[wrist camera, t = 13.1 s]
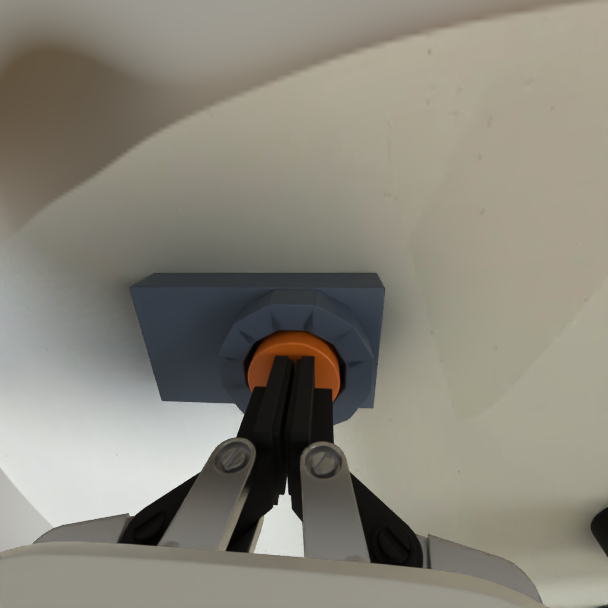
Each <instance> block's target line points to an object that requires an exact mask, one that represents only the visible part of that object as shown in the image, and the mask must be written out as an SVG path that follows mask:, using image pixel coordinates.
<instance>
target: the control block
mask: <svg viewBox="0 0 608 608" xmlns="http://www.w3.org/2000/svg"><path fill="white" fill-rule="evenodd" d="M129 289H130V292H131V295H132V299H133V302H134V306H135V309H136V313H137V316H138V320H139V323H140V327H141V330H142V334H143V337H144V341H145V344H146V348H147V351H148V355H149V358H150V362H151V365H152V368H153V372H154V375H155V379H156V382H157V386H158V389H159V393H160V396H161V400H162V401H178V402H206V403H235V404H236V405H237V406H238V408H239V409H240V410H241V411H242V412H243V413H244V414H245V411H246V409H247V406H248V403H249V400H250V397H251V394H252V392H251V390H250V387H249V383H248V370H249V366H250V364H251V361H252V359H253V356H254V354H255V352H256V349H257V347H258V345H259V342H260V341H261V339H262V338H264V337H266V336H268V335H270V334H272V333H274V332H276V331H278V330H301V331H308V332H310V333H312V334H314V335H316V336H318V337H320V338H322V339H324V340H326V341H328V342H330V343H332V344H333V345H334V347H335V348H336V350H337V353H338V358H339V373H340V388H339V391H338V394H337V396H336V398H335V399H334V401H333V425H336V424H338V423H341V422H343V421H346V420H348V419H350V418H351V416H352V415H353V414H354V413H355V412H356V411H357V409H358V408H373V406H374V396H375V386H376V375H377V365H378V355H379V345H380V335H381V325H382V315H383V304H384V294H385V288H384V286H383V284H382V282H381V280H380V278H379V276H378V275H377V274H376V273H154V274H152V275H151V276H149V277H147V278H145V279H143V280H141V281H140V282H138V283H136V284H134V285H132V286H130V287H129Z"/></svg>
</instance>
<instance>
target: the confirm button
mask: <svg viewBox="0 0 608 608" xmlns="http://www.w3.org/2000/svg"><path fill="white" fill-rule="evenodd" d="M276 355H277V356H288V357H289V359H293V363H294V373H295V367H296V361H297V359H301V358H302V356H315V388H329V389H332V397H333V401H334V399H335V398H336V396H337V394H338V391H339V388H340V373H339V358H338V353H337V350H336V348H335V347H334V345H333V344H332V343H330V342H328V341H326V340H324V339H322V338H320V337H318V336H316V335H314V334H312V333H310V332H308V331H301V330H278V331H276V332H274V333H272V334H270V335H268V336H266V337H264V338H262V339H261V341H260V342H259V345H258V347H257V349H256V352H255V354H254V356H253V359H252V361H251V364H250V366H249V370H248V383H249V387H250V390H251V392H253V389H254V387H255V386H266V385H267V381H268V378H269V375H270V371H271V368H272V365H273V361H274V358H275V356H276Z"/></svg>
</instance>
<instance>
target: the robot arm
mask: <svg viewBox="0 0 608 608" xmlns="http://www.w3.org/2000/svg"><path fill="white" fill-rule="evenodd" d="M287 478H288V493H289V495H291V502H292V510H293V511H294V512H295V513H296V515H297V516H298V517H299V519H300V520H301V521H302V526H303V542H304V558H303V557H291V556H279V555H266V554H253V553H254V550H255V547H256V544H257V541H258V538H259V534H260V531H261V528H262V525H263V521H264V515H265V514H266V513H267V512H268V511H270V510H271V509H272V508H273V505H278V498H279V495H284V494H285V488H286V480H287ZM0 608H548V607H547V606H545V605H543V603H542V600H541V597H540V595H539V593H538V591H537V589H536V587H535V585H534V584H533V582H532V581H531V580H530V579H529V577H528V576H527V575H526V574H525V572H523V571H522V570H521V569H520V568H519V567H517V566H516V565H515V564H514V563H512V562H510V561H508V560H506V559H504V558H501V557H498V556H495V555H492V554H489V553H485V552H482V551H479V550H476V549H473V548H470V547H467V546H464V545H461V544H457V543H454V542H451V541H448V540H445V539H442V538H439V537H436V536H432V535H429V534H428V536H427V538H426V537H423V536H420V535H417V534H415V533H414V532H413V531H412V529H411V528H410V527H409V526H408V525H407V524H406V523H405V522H404V521H403V520H401V519H400V518H399V517H398V516H397V515H396V514H395V513H394V512H393V511H392V510H391V509H390V508H388V507H387V506H386V505H385V504H384V503H383V502H382V501H381V500H380V499H379V498H378V497H377V496H375V495H374V494H373V493H372V492H371V491H370V490H369V489H368V488H367V487H366V486H365V485H364V484H362V483H361V482H360V481H359V480H358V479H357V478H356V477H355V476H354V475H353V474H352V473H351V472H349V468H348V464H347V460H346V457H345V455H344V452H343V451H342V450H341V449H340V448H339V447H338V446H336V445H335V444H334V436H333V397H332V389H329V388H315V356H302V358H301V359H297V361H296V367H295V373H294V363H293V359H289V357H288V356H277V355H276V356H275V358H274V361H273V365H272V368H271V371H270V375H269V378H268V381H267V385H266V386H255V387H254V389H253V392H252V394H251V397H250V400H249V403H248V406H247V409H246V411H245V414H244V417H243V420H242V423H241V426H240V429H239V431H238V434H237V437H236V438H231V439H228V440H226V441H224V442H222V443H221V444H220V445H218V446H217V447H216V448H215V450H214V451H213V452H212V454H211V456H210V457H209V459H208V461H207V462H206V464H205V466H204V467H203V469H202V471H201V472H200V473H198V474H196V475H195V476H193V477H192V478H190V479H189V480H187V481H186V482H184V483H183V484H181V485H179V486H178V487H176V488H175V489H173V490H172V491H170V492H169V493H167V494H165V495H164V496H162V497H161V498H159V499H158V500H156V501H155V502H153V503H152V504H150V505H148V506H147V507H145V508H144V509H143V510H141V511H140V512H139V513H138V514H136V515H135V516H131V517H130V515H129V513H127V514H121V515H116V516H110V517H105V518H99V519H94V520H88V521H83V522H77V523H72V524H66V525H62V526H59V527H56V528H53V529H51V530H50V531H48V532H46V533H45V534H43V535H42V536H41V537H39V538H38V539H37V540H36V541H35V542H34V543H33V544H31V545H26V546H21V547H17V548H14V549H10V550H6V551H3V552H0Z"/></svg>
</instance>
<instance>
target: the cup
mask: <svg viewBox="0 0 608 608" xmlns="http://www.w3.org/2000/svg"><path fill="white" fill-rule="evenodd" d="M591 530H592V533H593V535H594V537H595V538H596V540H597V541H598V543H599V544H600V546H601V547H602V549H603V550H604V552H605V553H606V555H607V556H608V508H607V509H606V510H604V511H603V512H601V513H600V514H599V515H598V516H597V517H596V518H595V519H594V521H593V522H592V525H591Z"/></svg>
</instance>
